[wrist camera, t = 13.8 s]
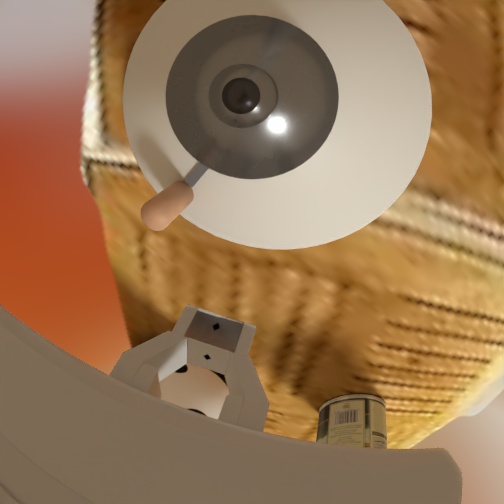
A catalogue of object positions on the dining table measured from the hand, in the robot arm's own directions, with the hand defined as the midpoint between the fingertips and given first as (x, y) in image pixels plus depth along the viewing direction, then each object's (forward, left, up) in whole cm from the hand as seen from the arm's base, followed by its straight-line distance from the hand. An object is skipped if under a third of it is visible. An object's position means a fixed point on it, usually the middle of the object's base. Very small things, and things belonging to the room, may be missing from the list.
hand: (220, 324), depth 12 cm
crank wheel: (-8, -1, -13) cm, 15 cm away
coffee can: (+29, +16, -13) cm, 35 cm away
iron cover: (-9, -1, -10) cm, 13 cm away
